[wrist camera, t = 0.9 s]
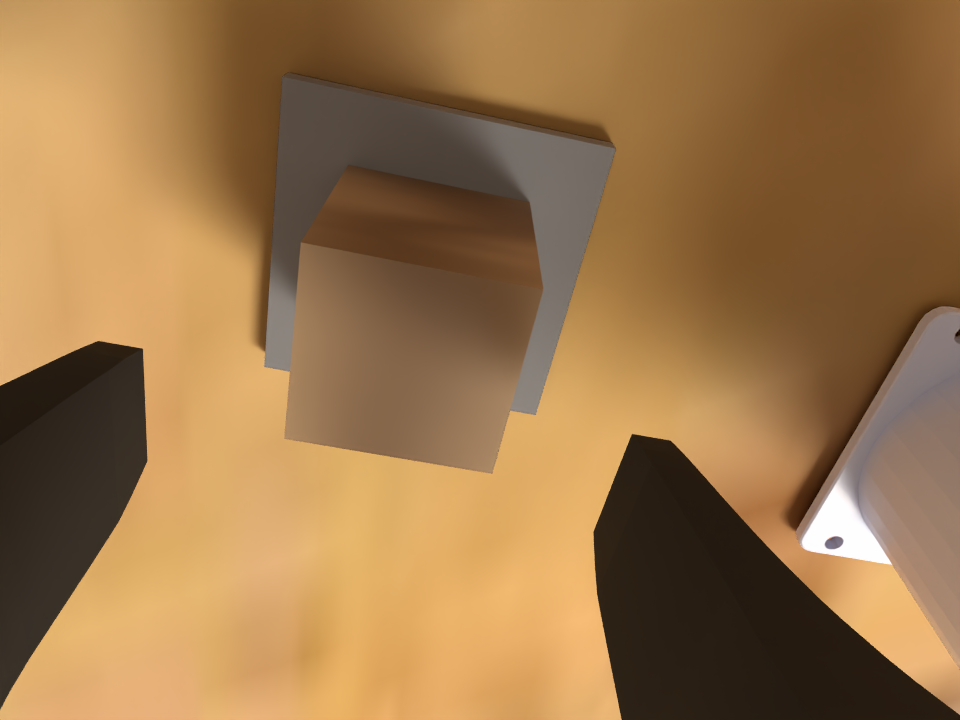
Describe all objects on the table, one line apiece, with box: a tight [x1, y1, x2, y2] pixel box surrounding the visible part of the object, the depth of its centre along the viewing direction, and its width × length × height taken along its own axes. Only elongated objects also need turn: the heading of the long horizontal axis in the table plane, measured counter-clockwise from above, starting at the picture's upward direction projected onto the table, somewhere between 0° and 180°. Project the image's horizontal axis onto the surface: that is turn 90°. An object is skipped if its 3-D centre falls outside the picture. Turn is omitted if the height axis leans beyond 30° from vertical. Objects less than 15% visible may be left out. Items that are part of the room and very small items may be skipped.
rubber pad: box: [264, 73, 616, 415], centre depth 17 cm, size 7×7×1 cm
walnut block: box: [284, 165, 544, 474], centre depth 15 cm, size 4×4×4 cm
